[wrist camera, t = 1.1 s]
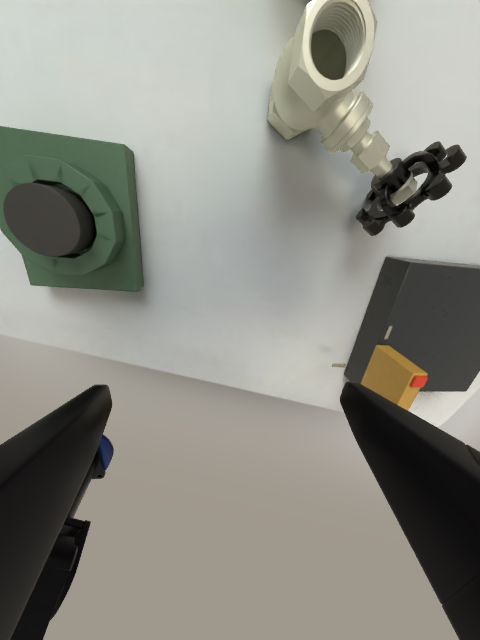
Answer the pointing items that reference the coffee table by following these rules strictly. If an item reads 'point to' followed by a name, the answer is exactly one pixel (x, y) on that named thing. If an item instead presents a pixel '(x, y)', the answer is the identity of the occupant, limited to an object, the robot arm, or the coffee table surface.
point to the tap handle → (393, 376)
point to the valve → (351, 110)
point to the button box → (93, 191)
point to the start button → (48, 219)
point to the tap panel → (424, 321)
